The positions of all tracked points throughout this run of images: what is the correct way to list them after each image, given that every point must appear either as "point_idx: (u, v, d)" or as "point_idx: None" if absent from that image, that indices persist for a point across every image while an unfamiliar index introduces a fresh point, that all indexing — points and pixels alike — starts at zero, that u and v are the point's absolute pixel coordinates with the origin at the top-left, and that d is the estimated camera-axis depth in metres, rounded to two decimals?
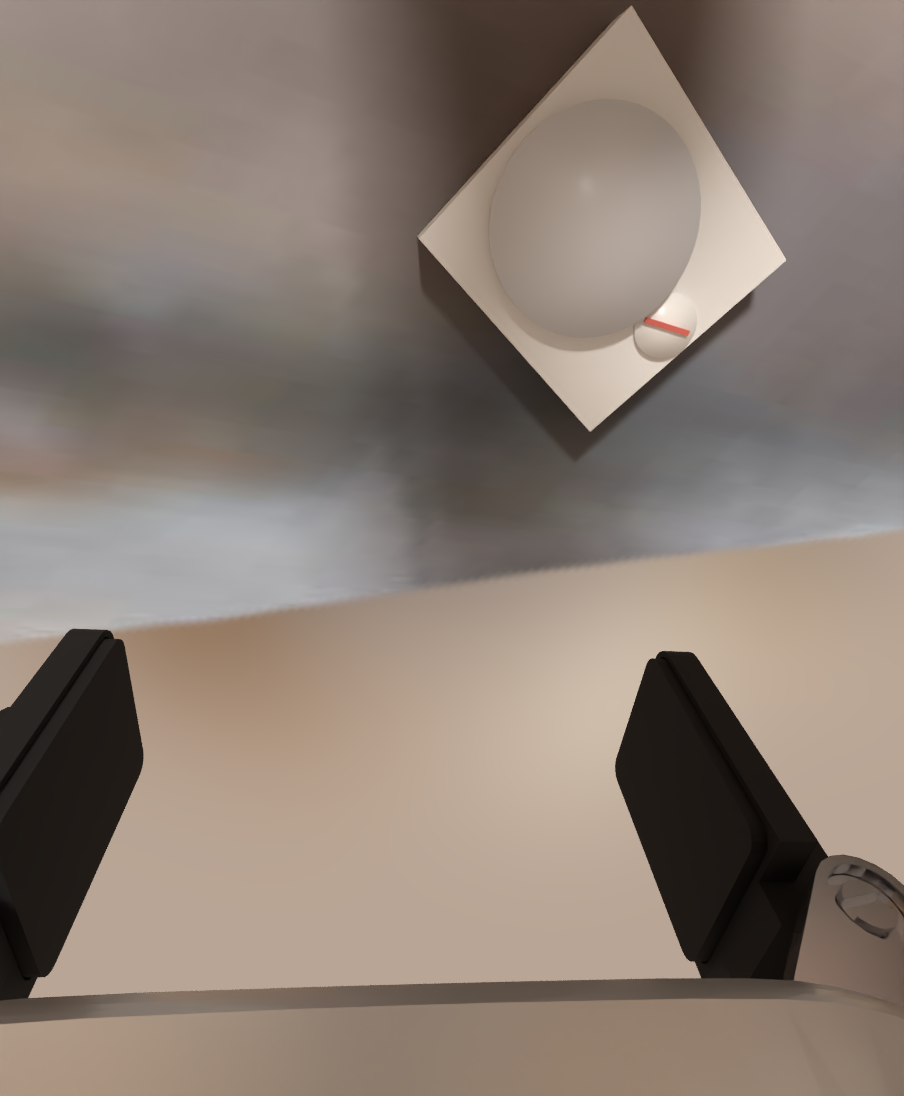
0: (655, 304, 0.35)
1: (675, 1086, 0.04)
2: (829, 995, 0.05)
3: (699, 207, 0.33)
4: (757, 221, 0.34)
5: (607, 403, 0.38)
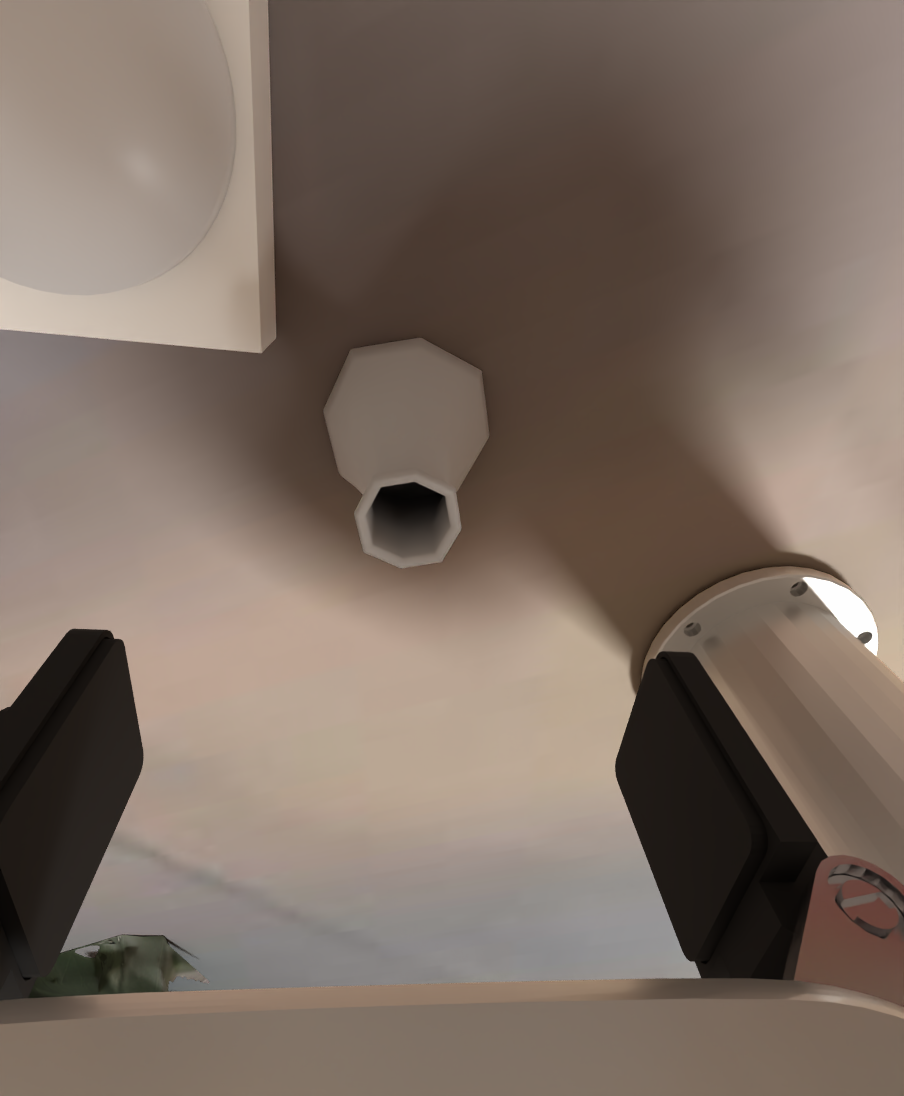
0: None
1: (675, 1086, 0.04)
2: (829, 995, 0.05)
3: None
4: None
5: None
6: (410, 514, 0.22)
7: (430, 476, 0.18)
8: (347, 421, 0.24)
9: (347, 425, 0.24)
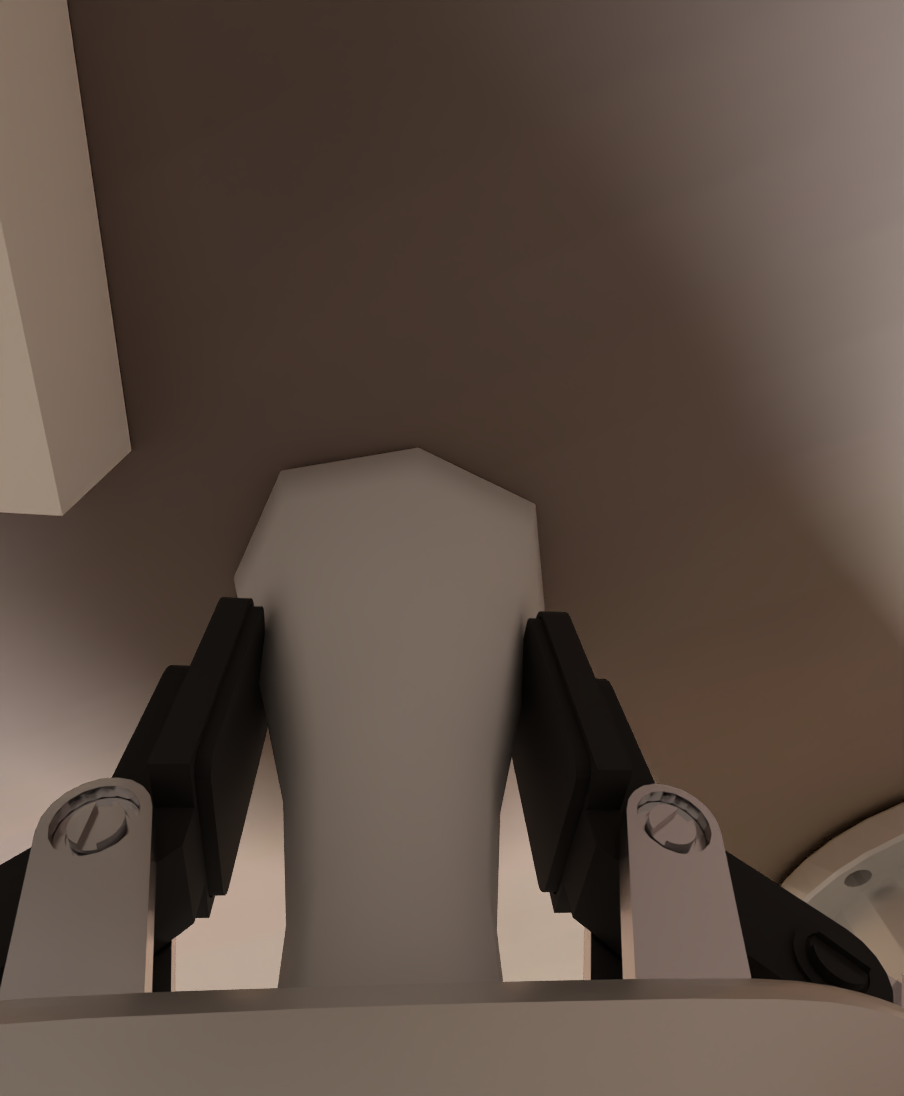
0: None
1: (675, 1086, 0.04)
2: (829, 995, 0.05)
3: None
4: None
5: None
6: None
7: None
8: (268, 635, 0.12)
9: (266, 650, 0.11)
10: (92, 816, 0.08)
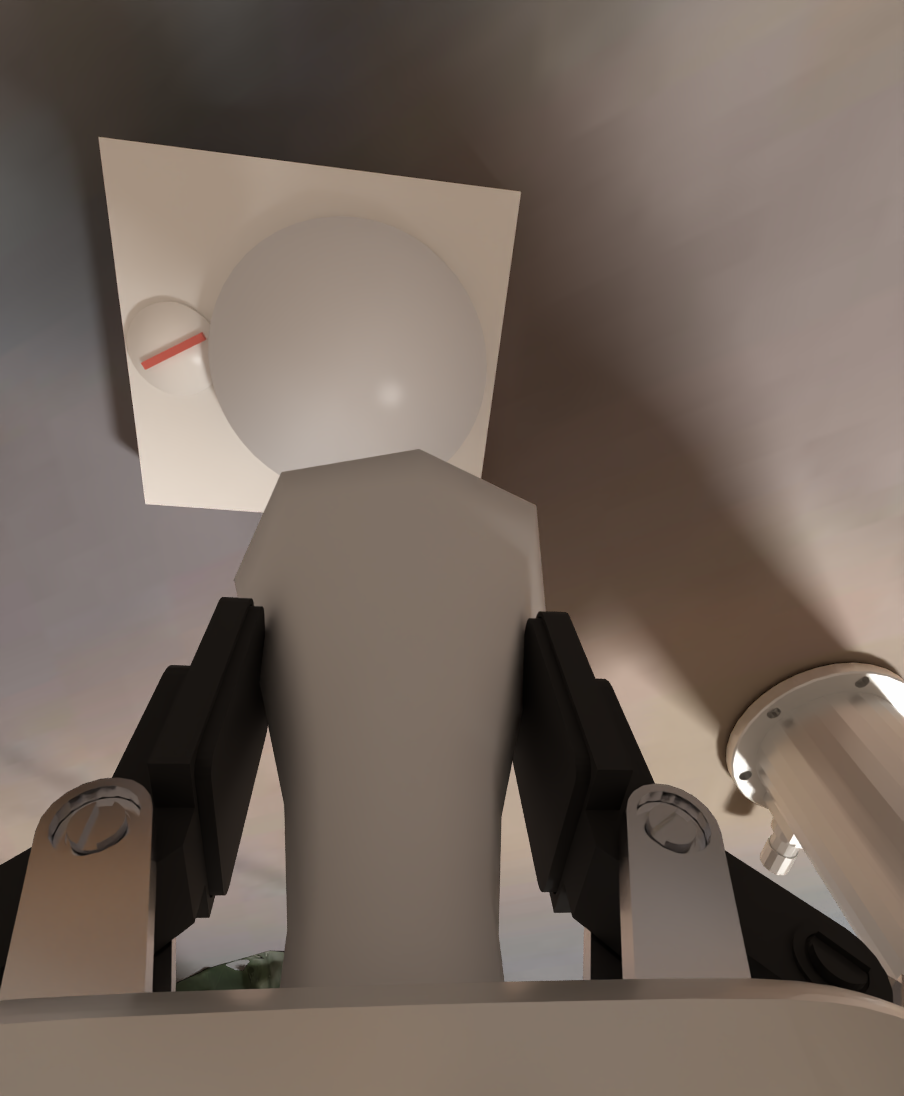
0: (213, 361, 0.25)
1: (675, 1086, 0.04)
2: (829, 995, 0.05)
3: (275, 470, 0.27)
4: (210, 504, 0.28)
5: (125, 200, 0.23)
6: None
7: None
8: (268, 636, 0.12)
9: (267, 652, 0.11)
10: (92, 816, 0.08)
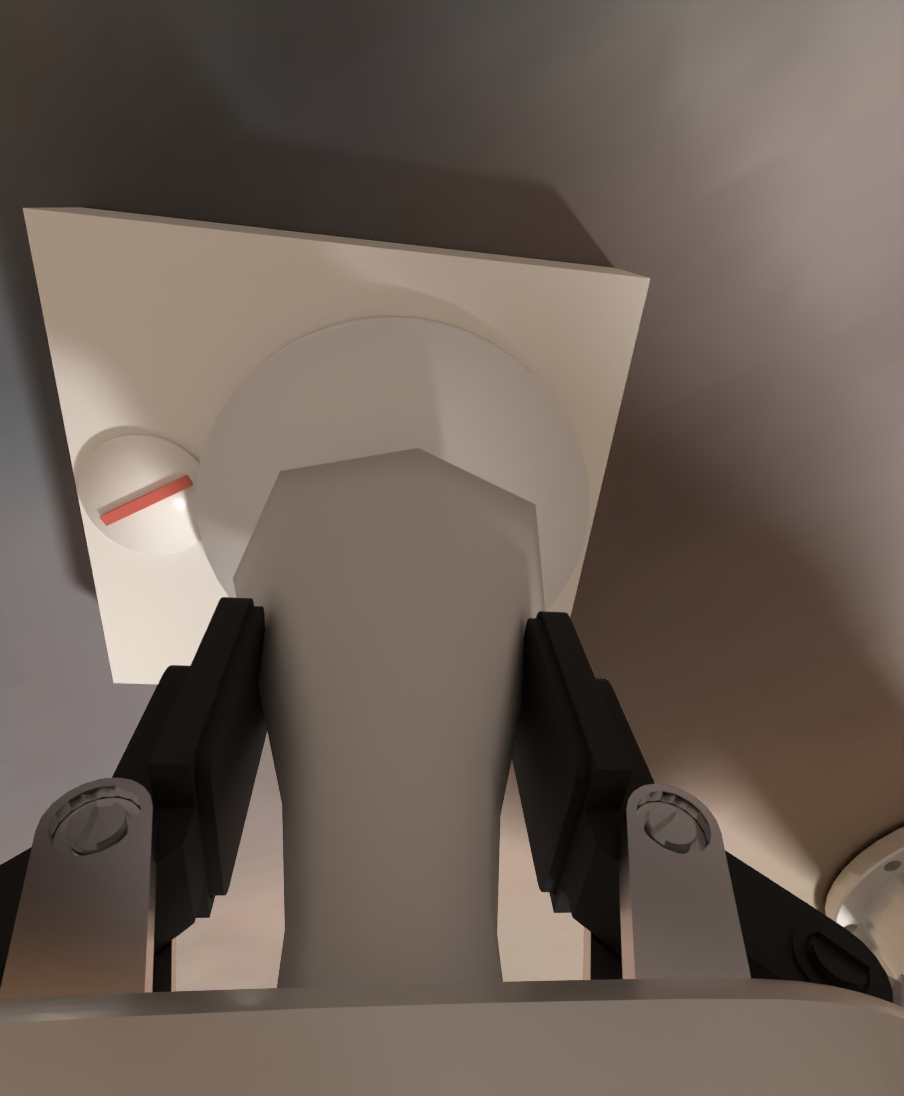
0: (203, 516, 0.17)
1: (676, 1087, 0.04)
2: (830, 995, 0.05)
3: None
4: None
5: (68, 297, 0.15)
6: None
7: None
8: (266, 636, 0.12)
9: (265, 651, 0.11)
10: (92, 816, 0.08)
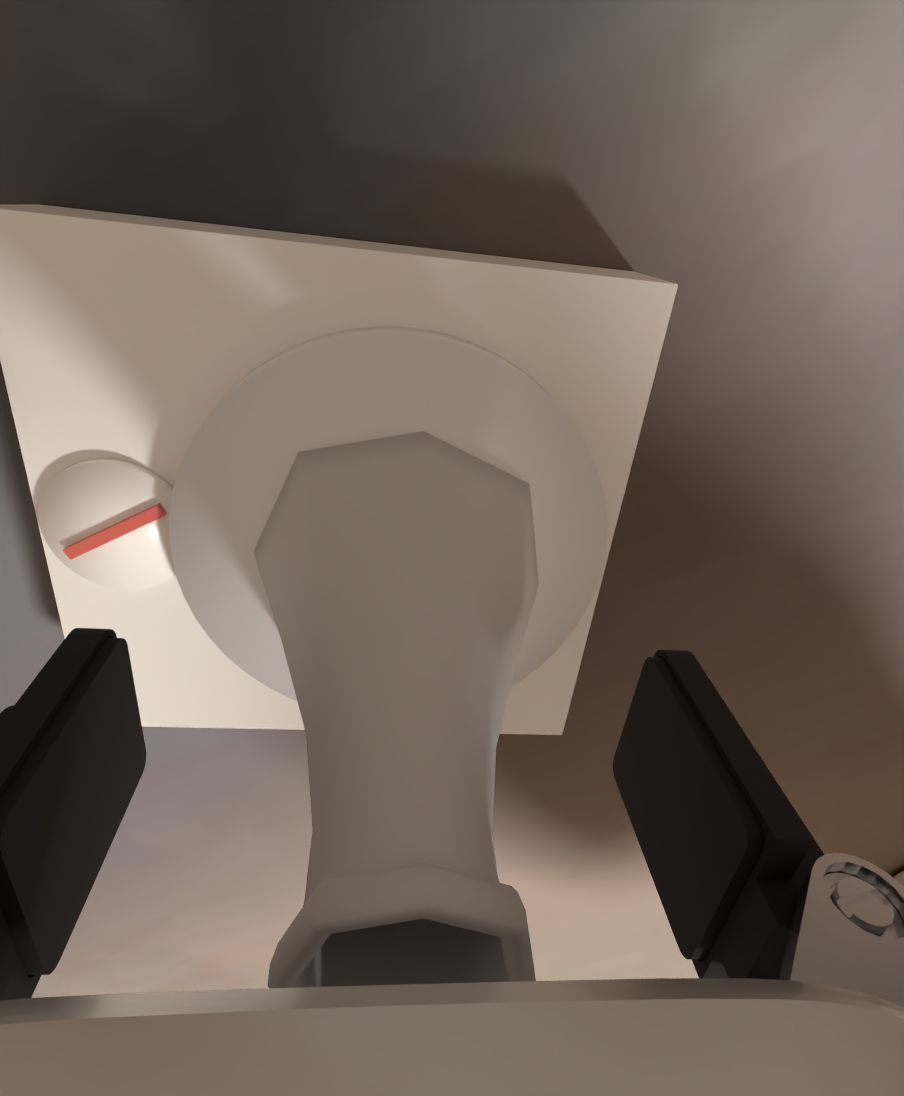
0: (177, 550, 0.15)
1: (675, 1086, 0.04)
2: (829, 995, 0.05)
3: (278, 690, 0.18)
4: (180, 722, 0.19)
5: (20, 307, 0.13)
6: None
7: (463, 898, 0.07)
8: (288, 598, 0.13)
9: (287, 610, 0.13)
10: None
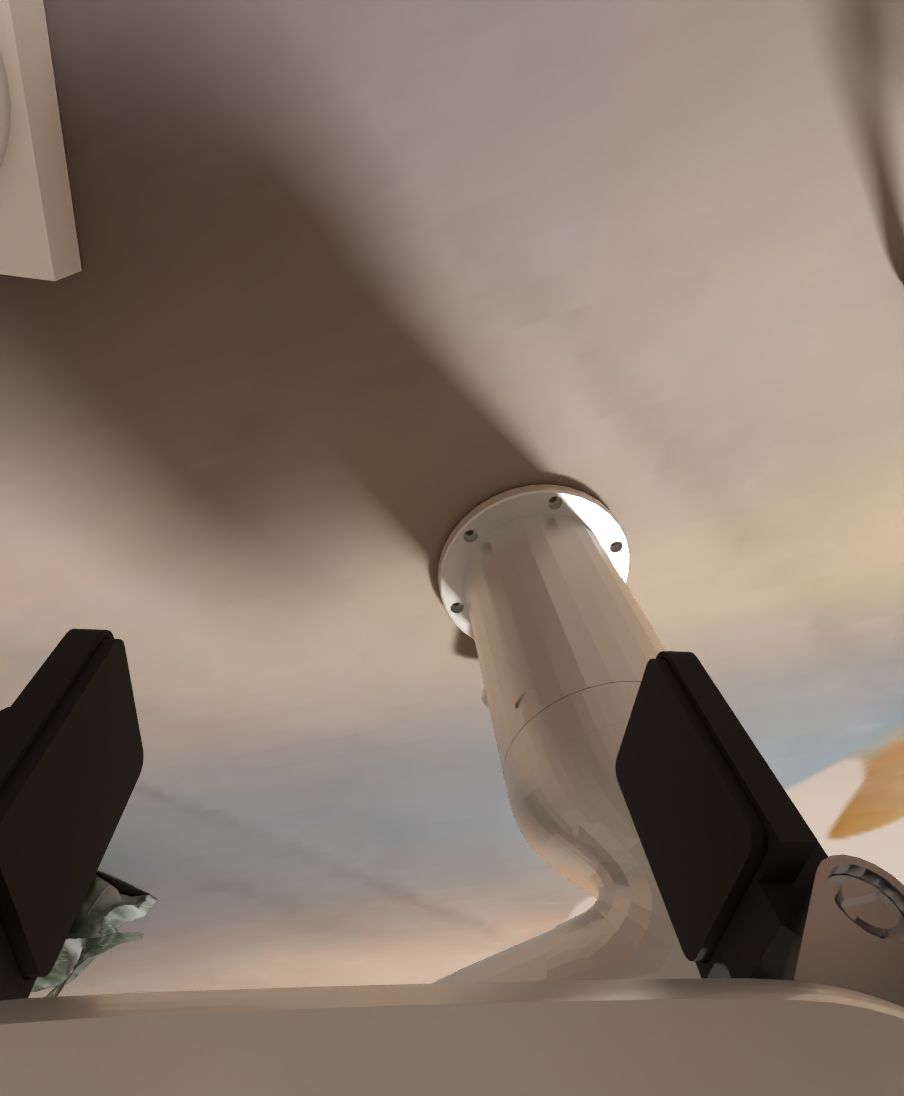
0: None
1: (675, 1086, 0.04)
2: (829, 995, 0.05)
3: None
4: None
5: None
6: None
7: None
8: None
9: None
10: None
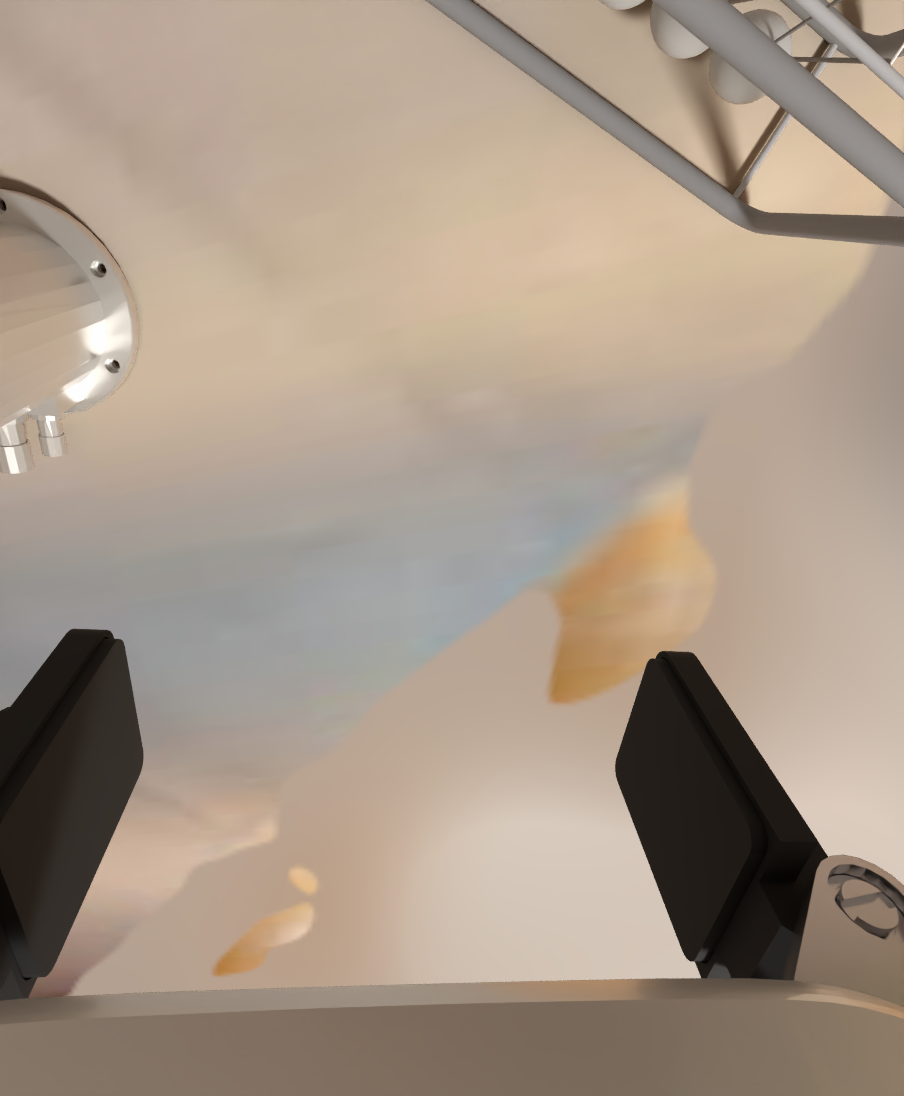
0: None
1: (675, 1086, 0.04)
2: (829, 995, 0.05)
3: None
4: None
5: None
6: None
7: None
8: None
9: None
10: None
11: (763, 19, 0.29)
